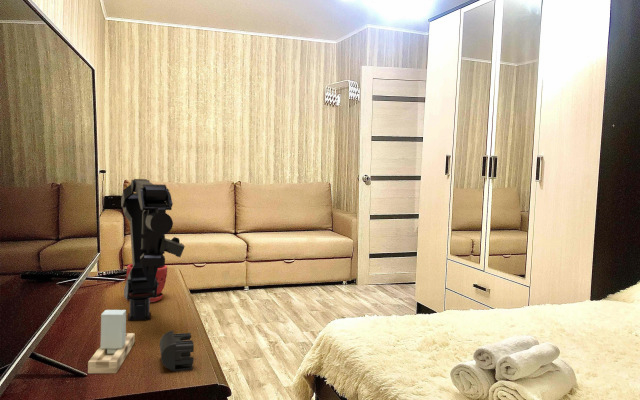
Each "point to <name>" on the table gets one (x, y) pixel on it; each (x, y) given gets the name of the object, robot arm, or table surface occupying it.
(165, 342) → the end cap
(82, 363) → the table surface
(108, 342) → the block
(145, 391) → the table surface
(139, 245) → the robot arm
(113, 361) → the beam
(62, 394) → the table surface
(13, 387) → the table surface
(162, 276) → the plant pot
